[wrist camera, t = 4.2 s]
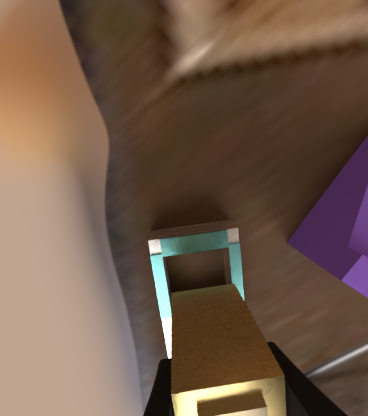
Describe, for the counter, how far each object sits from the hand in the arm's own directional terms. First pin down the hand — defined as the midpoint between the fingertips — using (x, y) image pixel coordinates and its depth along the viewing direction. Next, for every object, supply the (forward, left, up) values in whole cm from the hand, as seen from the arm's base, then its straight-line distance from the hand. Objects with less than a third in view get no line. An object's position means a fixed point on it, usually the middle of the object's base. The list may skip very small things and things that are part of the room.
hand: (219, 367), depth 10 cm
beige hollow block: (0, 0, -4) cm, 4 cm away
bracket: (+3, -15, -10) cm, 19 cm away
